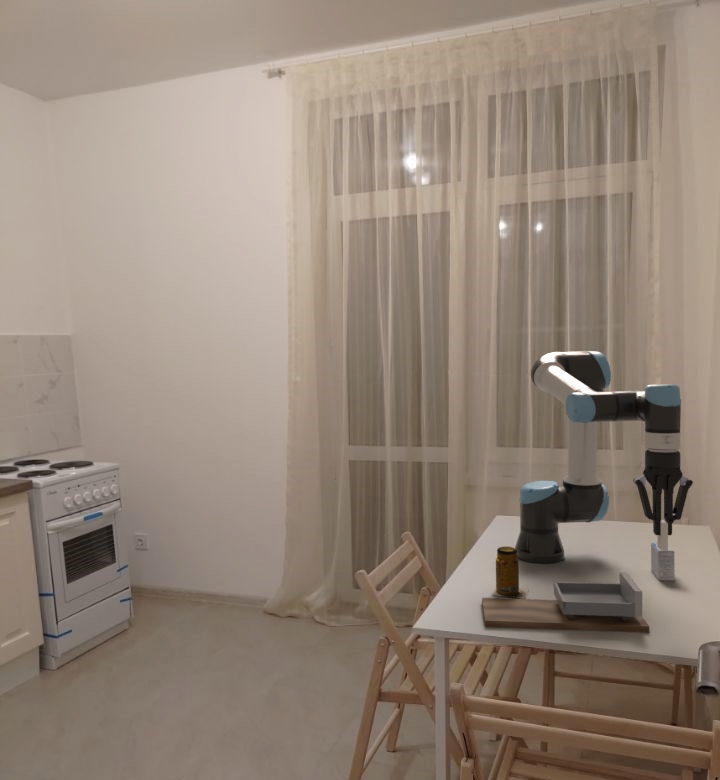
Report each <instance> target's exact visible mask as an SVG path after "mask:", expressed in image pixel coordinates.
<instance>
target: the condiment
mask: <svg viewBox="0 0 720 780" xmlns="http://www.w3.org/2000/svg"><path fill="white" fill-rule="evenodd" d="M496 552H497V554H496V558H495V590H494V591H493V592H492V596H499V597H501V598H502V597H504V598H512V599H526V596H527V595H528V592H529V589H527V588H520V581H519V580H520V579H519V578H520V575H519V574H520V572H519V567H520V564H519V563H520V562H519V558H518V557H517V550H516V549H515V547H512V546H500V547H498V548H497V549H496Z"/></svg>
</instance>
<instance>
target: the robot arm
mask: <svg viewBox="0 0 720 780" xmlns="http://www.w3.org/2000/svg"><path fill="white" fill-rule="evenodd" d="M530 378H531V382H532V384H534V386H535V388H537V389H538V390H540V391H541V392H543V393H548V394H551V396H553V397H554V398H556V399H557V400H558V401H559V402H560V403H562V404H563V405H564V406H565V413H566V416H567V418H568V420H567V421H568V422H567V423H568V425H567V426H568V427H567V428H568V429H567V435H568V436H567V474H566V475H565V476H564V477H563V478H562V485H559V484H558V482H556V481H554V480H537V481H536V480H535V481H532V482H531V481H530V482H528V483H525V484H523V485H522V486H521V488H520V492H519V500H518V501H519V515H520V516H519V517H520V518H519V520H520V521H519V522H520V524H519V525H520V527H519V528H520V530H519V534H518V537H517V540H516V543H515V546H514V548H515V549H516V550H517V559H518V560H519V559H520V560H522V561H525V562H530V563H536V564H537V563H538V564H552V563H558V562H561V561H563V560H564V559H565V549H564V546H563V543H562V540H561V537H560V533H559V524H563V523H564V524H567V523H589V524H590V523H592V522H600V521H602V520H603V519H604V518H605V517H606V515H607V513H608V510H609V506H610V496H609V491H608V489H607V487H606V485H604V484H602V482H603V481H602V479H601V478H599V476H598V473H597V465H598V464H597V461H598V423H606V422H608V423H609V422H644V434H645V435H644V447H645V448H646V449H645V451H644V470H643V472H642V475H640V476H639V477H635V478H633V480H632V481H633V483H634V484H635V486H636V487H637V489H638V490H637V491H638V495H639V498H640V502H641V505H642V510H643V513H644V516H645V517H646V518H647V519H648V520H651V521H652V522H653V523H652V527H653V529H652V531H653V534H654V535H655V536H657V543H658V548H660V549H661V550H668V545H669V536H672V535H673V524H674V522H675V521H676V520H677V521H679V520H681V519H682V516H683V511H684V507H685V503H686V499H687V496H688V493H689V489H690V488H691V487H692V485H693V483H694V482H693V480H692V479H690V478H688V477H686V476H684V475H683V471H682V470H681V452H680V451H679V450H680V449H681V412H682V410H681V407H682V406H681V405H682V399H681V389H680V386H678V385H677V384H669V383H654V384H648V385H646V386H645V389H644V390H642V389H632V390H628V391H627V390H624V391H623V390H622V391H620V390H619V391H604V389H607V388H609V386H610V384H611V380H612V371H611V366H610V363H609V360H608V359H607V357H606V355H604V354H603V353H602V352H600V351H594V350H593V351H592V350H579V351H577V350H576V351H553V352H549V353H546V354H544V355H542V356H540V357H538V359H537V360H536V361H534V363H533V364H532V367H531V370H530ZM646 481H647V482H646ZM647 483H648V484H649V485H650V486H651V491H652V506H651V502H650V500H649V495H648V491H647V487H646V484H647ZM678 483H679V486H678V490H677V495H676V497H675V502H674V493H675V492H674V491H675V490H674V488H675V487H676V486H677V484H678ZM662 493H663V518H664V519H662Z"/></svg>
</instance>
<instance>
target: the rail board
mask: <svg viewBox="0 0 720 780" xmlns="http://www.w3.org/2000/svg"><path fill="white" fill-rule="evenodd" d="M481 603H482V604H481V605H482V610H483V618H484V619H483V620H484V627H486V628H487V627H488V628H512V629H513V628H514V629H534V630H535V629H537V630H538V629H543V630H564V631H566V630H569V631H595V632H596V631H597V632H598V631H599V632H621V633H623V632H624V633H650V625H649V623H648V622H647V621H646V619H645V618H644V617H643V616H642V617H629V620H628V621H627V622H623V621H622V619H621V616H596V615H575V619H574V620H569V618H568V616H567V615H566V614H563V613H562V611H561V608H560V606H559V604H558V601H557V599H535V598H534V599H533V598H532V599H531V598H525V599H522V598H507V597H504V598H502V597H500V598H499V597H496V598H495V597H481Z"/></svg>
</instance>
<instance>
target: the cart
mask: <svg viewBox="0 0 720 780" xmlns="http://www.w3.org/2000/svg"><path fill="white" fill-rule="evenodd" d="M553 594H554V597H555V600H557V601H558V604H559V606H560V608H561V611H562V613H563V614H566V615H567V616H568V618H569V620H574V619H575V615H596V616H621V619H622V621H623V622H627V621H628V620H629V617H643V590H642V589H641V588H640V587H639V586H638V584H637V583H636V582H635V581H634V579H633V578H632V576H630V575H629V573H628V572H627V571H619V583H613V582H612V583H611V582H577V581H576V582H573V581H553Z"/></svg>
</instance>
